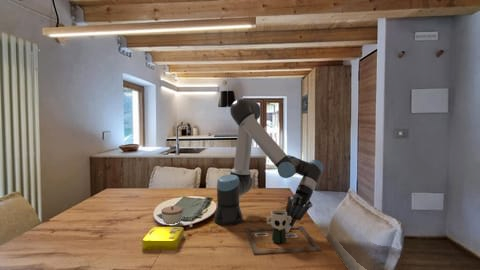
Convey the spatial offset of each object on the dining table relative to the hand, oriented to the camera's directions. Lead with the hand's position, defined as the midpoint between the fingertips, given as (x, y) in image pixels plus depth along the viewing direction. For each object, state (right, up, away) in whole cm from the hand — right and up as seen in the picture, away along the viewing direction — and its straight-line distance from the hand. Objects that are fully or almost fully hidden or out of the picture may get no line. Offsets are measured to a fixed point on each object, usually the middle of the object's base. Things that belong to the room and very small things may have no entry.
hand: (285, 231), depth 125 cm
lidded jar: (-55, -3, +18) cm, 58 cm away
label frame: (-2, -3, -1) cm, 4 cm away
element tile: (-54, -4, -2) cm, 54 cm away
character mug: (-3, -4, -3) cm, 6 cm away
